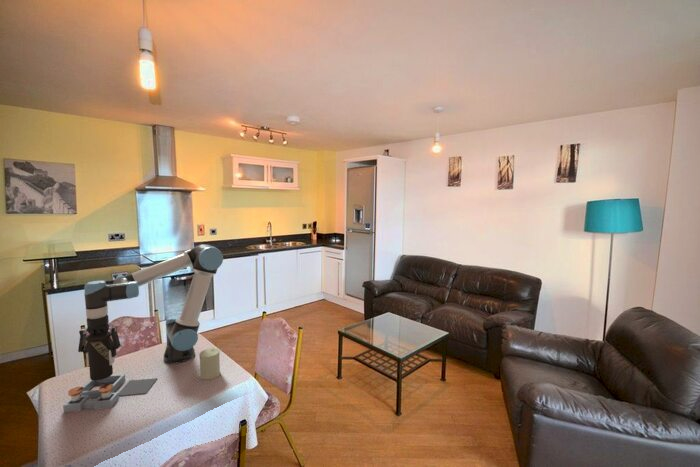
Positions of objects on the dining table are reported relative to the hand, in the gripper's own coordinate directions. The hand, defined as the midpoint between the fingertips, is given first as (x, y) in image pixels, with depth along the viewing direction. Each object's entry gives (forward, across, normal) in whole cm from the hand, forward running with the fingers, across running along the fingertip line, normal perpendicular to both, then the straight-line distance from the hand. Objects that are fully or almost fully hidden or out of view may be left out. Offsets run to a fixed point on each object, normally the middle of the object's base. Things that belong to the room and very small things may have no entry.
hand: (101, 364), depth 141 cm
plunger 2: (+11, -7, +12) cm, 18 cm away
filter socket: (+12, 0, 0) cm, 12 cm away
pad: (+12, -15, +2) cm, 19 cm away
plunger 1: (+11, +4, +12) cm, 17 cm away
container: (+5, 0, 0) cm, 5 cm away
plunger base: (+12, -2, +12) cm, 17 cm away
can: (+12, -45, -4) cm, 47 cm away
